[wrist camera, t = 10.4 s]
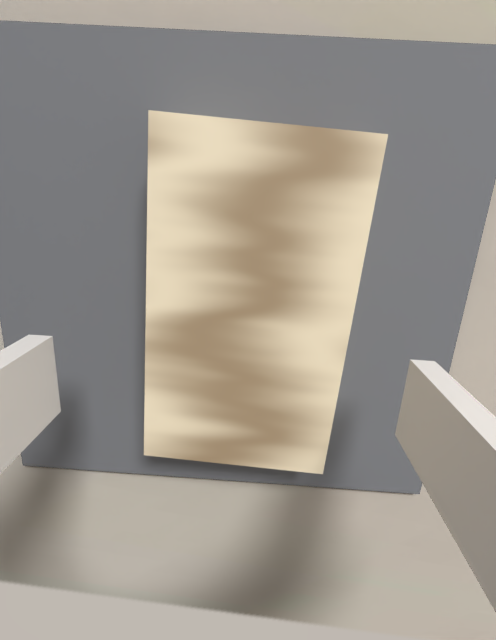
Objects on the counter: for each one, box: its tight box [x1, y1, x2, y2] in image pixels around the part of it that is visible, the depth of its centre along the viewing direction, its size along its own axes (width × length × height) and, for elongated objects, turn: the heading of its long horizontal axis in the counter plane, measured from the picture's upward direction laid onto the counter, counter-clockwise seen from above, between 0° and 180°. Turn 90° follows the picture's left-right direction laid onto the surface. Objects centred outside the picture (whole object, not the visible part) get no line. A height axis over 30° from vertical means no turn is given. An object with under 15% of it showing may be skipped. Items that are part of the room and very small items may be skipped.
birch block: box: [144, 110, 388, 474], centre depth 14 cm, size 7×2×12 cm
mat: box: [0, 21, 496, 494], centre depth 15 cm, size 19×18×1 cm
